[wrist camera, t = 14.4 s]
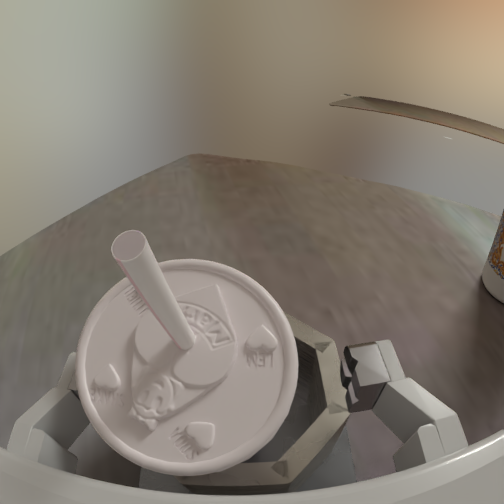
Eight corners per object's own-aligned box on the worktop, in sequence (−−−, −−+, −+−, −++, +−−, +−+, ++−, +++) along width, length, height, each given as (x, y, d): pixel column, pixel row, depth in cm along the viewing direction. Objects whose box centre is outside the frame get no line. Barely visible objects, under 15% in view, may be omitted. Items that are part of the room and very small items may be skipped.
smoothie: (295, 374, 16) (385, 190, 5) (247, 475, 13) (214, 600, 2) (194, 331, 18) (101, 120, 6) (143, 422, 15) (-72, 339, 3)
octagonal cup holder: (142, 515, 12) (87, 491, 8) (163, 361, 22) (137, 298, 18) (356, 510, 12) (396, 488, 8) (325, 353, 22) (337, 286, 18)
